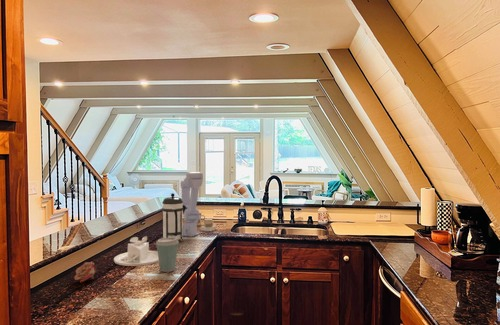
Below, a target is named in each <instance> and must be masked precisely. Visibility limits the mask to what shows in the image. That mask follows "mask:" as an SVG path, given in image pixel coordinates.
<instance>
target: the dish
mask: <svg viewBox="0 0 500 325" xmlns="http://www.w3.org/2000/svg"><path fill="white" fill-rule="evenodd" d="M147 240H148V236H147V235H146V236H143V237H142V239H141V240H139V237H137V236H134V237H131V238H130V239H129V242H130V243H127V252H124V253H120V254H118V255H116V256H114V258H113V262H114V263H115V264H116V265H119V266H127V267H133V266H134V267H138V266H146V265H152V264H156V263H157V262H158V263H159V258H158V252H157V250H149V249H150V244H149V243H150V241H148V242H147Z"/></svg>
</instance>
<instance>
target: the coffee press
mask: <svg viewBox="0 0 500 325" xmlns="http://www.w3.org/2000/svg"><path fill="white" fill-rule="evenodd" d="M170 194H171V195H170V197H165V198H164V199H163V200H162V202H161V203H162V238H168V237H176V238H177V240H178V241H179V242H180V243H183V242H184V238H183V225H184V223H183V221H184V218H183V201H182V197H178V196H175V193H170Z"/></svg>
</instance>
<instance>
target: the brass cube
mask: <svg viewBox="0 0 500 325" xmlns="http://www.w3.org/2000/svg"><path fill="white" fill-rule="evenodd" d="M203 220H204V221H203V222H204V225H203V226H205V227H213V226H214V225H213V224H214V222H213V219H212V218H205V219H204V218H203Z"/></svg>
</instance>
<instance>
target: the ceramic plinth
mask: <svg viewBox="0 0 500 325" xmlns="http://www.w3.org/2000/svg"><path fill="white" fill-rule="evenodd" d="M216 230H217V225H213V227H205V226H204V225H202V226H200V231H201V232H202V231H203V232H209V231H210V232H213V231H216Z"/></svg>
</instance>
